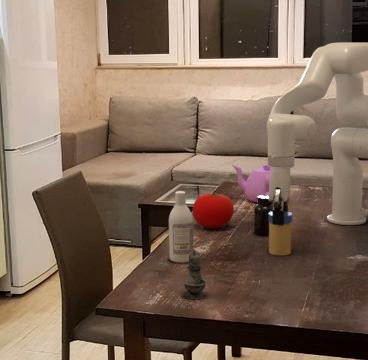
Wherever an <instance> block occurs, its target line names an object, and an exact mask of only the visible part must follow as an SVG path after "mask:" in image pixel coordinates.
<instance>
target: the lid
mask: <svg viewBox="0 0 368 360" xmlns="http://www.w3.org/2000/svg"><path fill="white" fill-rule="evenodd" d="M272 215H273V211H272V212H269V213H268V221H269V222H270V223H272ZM288 223H291V224H292V223H293V213H292V212H290V211H288V212H287V211H284V224H288Z"/></svg>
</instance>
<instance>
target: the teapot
mask: <svg viewBox="0 0 368 360" xmlns="http://www.w3.org/2000/svg"><path fill="white" fill-rule="evenodd" d="M231 167H233V168H234V169H235V171H236V175H237V185H238V187H239V189H240V190H241V191H243V193H244V195H245V197H246V198H247V199H248V200H249V201H251V202H255V203H257V201H258V196H269V180H270V170H271V168H270V167H268V163H263V164H262V167H256V168H254V169H253V170H252V171H251V173H250V174H249V176H248V178H247V179H246V180H245V179H244V177H243V171H242V169H241V167H239V166H238V165H233V164H232V165H231ZM273 202H274V199H273Z"/></svg>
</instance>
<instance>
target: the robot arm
mask: <svg viewBox="0 0 368 360" xmlns="http://www.w3.org/2000/svg"><path fill="white" fill-rule="evenodd" d="M364 72H365V73H366V72H368V42H347V41H346V42H345V41H343V42H331V43H328V44H325V45H324V46H319V47H318V48H316V49H315V50H314V51H313V52H312V55H311V58H310V59H309V62H308V64H307V65H306V68H305V71H304V73H303V75H302V77H301V79H300V81H299V83H298V84H296V85H294V86H293V87H291V88H290V89H289V90H287V91H286V92H285V93H283V94H282V95H281V96H280V97H279V98H278V99H277V100H276V101H275V103H274V104H273V107H272V108H271V111H270V113H269V115H268V118H267V121H266V127H265V128H266V133H267V164H268V167H270V168H271V170H270V180H269V201H270V202H271V201H272V200H273V199H274V202H273V203H272V205H273V215H272V224H273V225H283V224H284V211H287V212H289V205H288V204H289V203H288V201H289V200H288V199H289V197H290V194H291V169H292V168H294V167H295V153H296V151H295V147H296V145H295V144H296V142H307V141H309V140H311V139H312V138H313V137H314V136H315V134H316V131H317V125H316V122H315V120H314V118H312V117H310V116H308V115H304V114H303V115H302V114H291V113H292V112H293V111H294V110H296V109H298V108H300V107H303V106H306V105H309V104H312V103H314V102H317V101H319V100H321V99H323V98H325V96H326V95H327V93H328V91H329V88H330V86H331V84H332V82H333V79H335V95H336V96H335V113H336V114H335V115H336V118H337V120H338V121H339V122H340V123H343V124H348V125H362V126H367V127H368V95H367V94H365V91H364V78H363V75H362V73H364ZM330 147H331V153H332V169H333V170H332V199H331V202H332V204H331V207H332V208H331V214H328V215H327V216H326V220H327V221H328V222H329V223H332V224H335V225H340V226H356V225H357V226H359V225H362V224H365V223H366V222H367V216H368V208H366V209H365V208H364V207H363V184H364V183H363V182H364V168H363V166H362V163H361V161H360V159H359V158H361V159H368V128H362V127H350V126H348V127H347V126H346V127H345V126H344V127H340V128H339V127H338V128H337V129H335V130H334V131H333V133H332V134H331V136H330Z"/></svg>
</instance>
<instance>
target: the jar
mask: <svg viewBox="0 0 368 360" xmlns="http://www.w3.org/2000/svg"><path fill="white" fill-rule="evenodd" d="M291 253H292V222H291V223H288V224H283V225H273V224H272V223H270V222H269V236H268V254H271V255H274V256H288V255H290V254H291Z"/></svg>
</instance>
